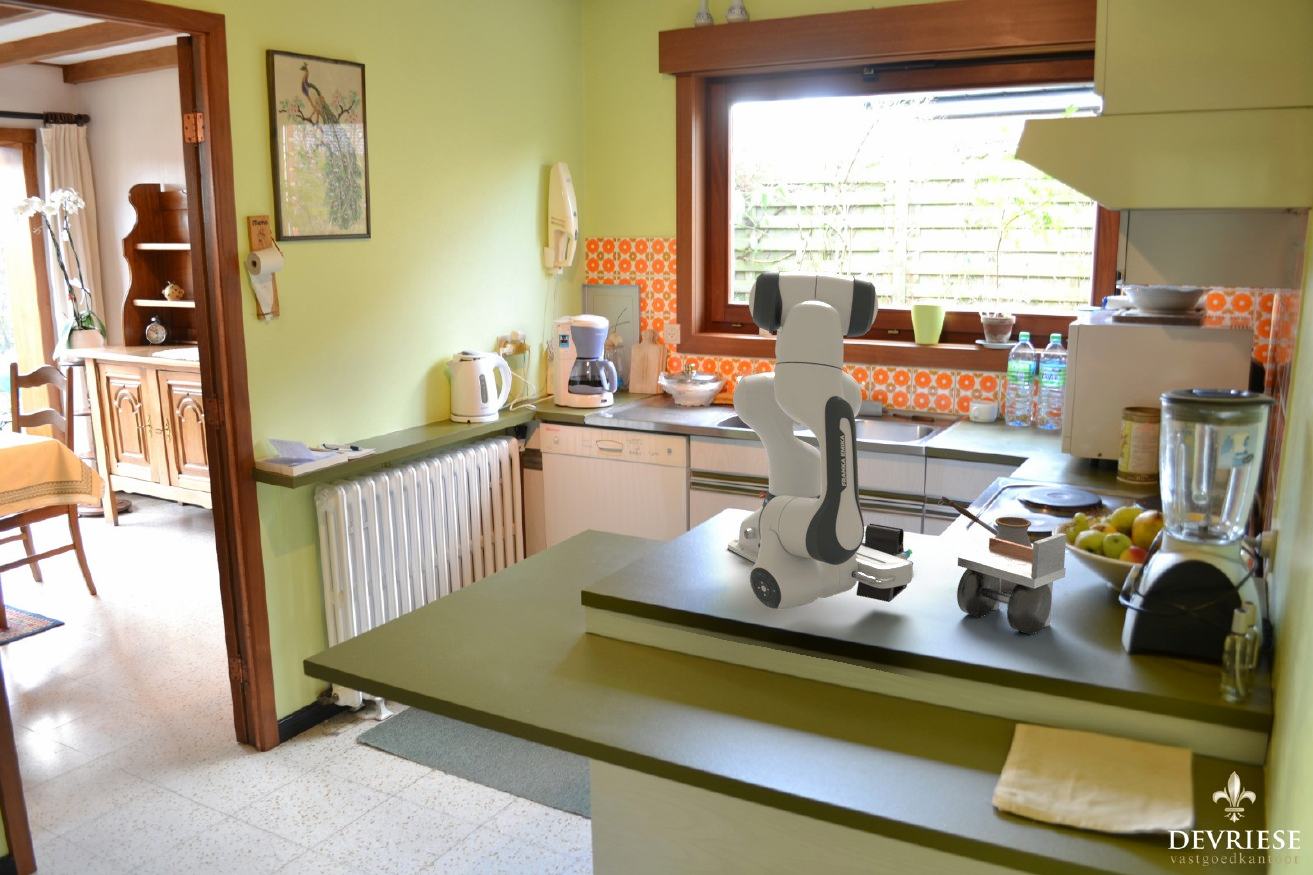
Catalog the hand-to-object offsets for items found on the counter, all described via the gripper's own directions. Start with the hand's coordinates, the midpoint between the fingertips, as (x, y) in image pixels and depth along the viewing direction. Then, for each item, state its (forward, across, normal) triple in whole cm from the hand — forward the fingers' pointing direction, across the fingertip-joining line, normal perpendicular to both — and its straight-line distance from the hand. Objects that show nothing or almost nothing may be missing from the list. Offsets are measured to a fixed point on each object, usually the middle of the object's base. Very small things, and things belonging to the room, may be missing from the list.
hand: (886, 551), depth 180 cm
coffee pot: (+28, -2, +12) cm, 30 cm away
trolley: (+13, -16, +11) cm, 24 cm away
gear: (+17, +12, +12) cm, 24 cm away
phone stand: (-1, 0, +8) cm, 8 cm away
